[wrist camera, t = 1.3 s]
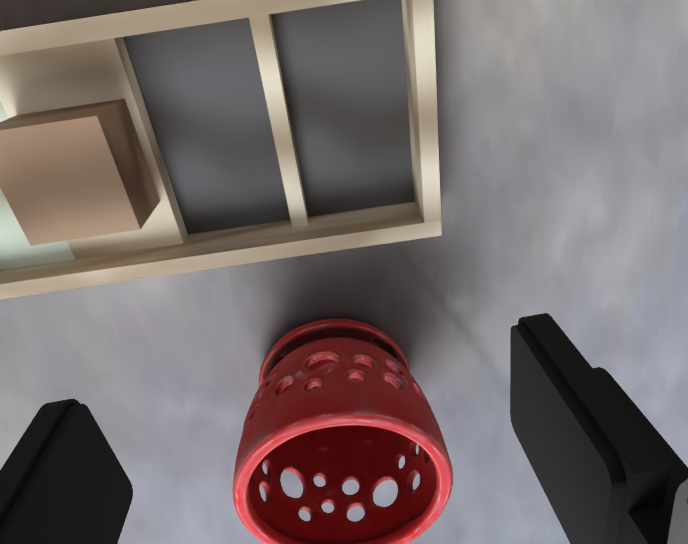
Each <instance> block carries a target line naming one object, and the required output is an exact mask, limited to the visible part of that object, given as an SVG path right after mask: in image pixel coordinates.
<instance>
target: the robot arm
mask: <svg viewBox="0 0 688 544" xmlns="http://www.w3.org/2000/svg"><path fill="white" fill-rule="evenodd" d="M510 415H511V422H512V426H513V429H514V431H515V434H516V436H517V438H518V440H519V442H520V444H521V446H522V448H523V450H524V452H525V454H526V456H527V458H528V460H529V462H530V464H531V466H532V468H533V470H534V472H535V474H536V476H537V478H538V480H539V482H540V484H541V486H542V488H543V490H544V492H545V494H546V496H547V498H548V500H549V502H550V504H551V506H552V508H553V510H554V512H555V514H556V516H557V518H558V520H559V522H560V524H561V526H562V528H563V530H564V532H565V534H566V536H567V538H568V540H569V542H570V544H688V467H687V466H686V465H685V464H684V463H683V461H682V460H681V459H680V458H679V457H678V455H677V454H676V453H675V452H674V451H673V449H672V448H671V447H670V446H669V445H668V443H667V442H666V441H665V440H664V439H663V437H662V436H661V435H660V434H659V433H658V431H657V430H656V429H655V428H654V427H653V425H652V424H651V423H650V422H649V421H648V419H647V418H646V417H645V416H644V415H643V413H642V412H641V411H640V410H639V409H638V407H637V406H636V405H635V404H634V403H633V401H632V400H631V399H630V398H629V397H628V395H627V394H626V393H625V392H624V391H623V389H622V388H621V387H620V386H619V385H618V383H617V382H616V381H615V380H614V379H613V377H612V376H611V375H610V374H609V373H608V372H607V371H606V370H605V369H603V368H600V367H598V368H592V367H591V366H590V365H589V363H588V362H587V361H586V360H585V358H584V357H583V356H582V355H581V353H580V352H579V351H578V350H577V348H576V347H575V346H574V345H573V343H572V342H571V341H570V340H569V338H568V337H567V336H566V335H565V333H564V332H563V331H562V330H561V328H560V327H559V326H558V325H557V323H556V322H555V321H554V320H553V318H552V317H551V316H550V315H549V314H547V313H544V314H538V315H533V316H527V317H522V318H520V319H519V321H518V325H515V326H512V327H511V385H510ZM132 496H133V489H132V485H131V482H130V480H129V479H128V477H127V475H126V473H125V472H124V470H123V468H122V466H121V465H120V463H119V461H118V459H117V458H116V456H115V454H114V452H113V451H112V449H111V447H110V445H109V444H108V442H107V440H106V438H105V437H104V435H103V433H102V431H101V430H100V428H99V426H98V424H97V423H96V421H95V419H94V417H93V416H92V414H91V412H90V410H89V409H88V407H87V406H86V405H85V404H80V403H79V402H78V401H77V400H75V399H68V400H62V401H57V402H51V403H46V404H44V405H43V406H42V407H41V408H40V409H39V411H38V413H37V414H36V416H35V417H34V419H33V420H32V422H31V423H30V425H29V427H28V428H27V430H26V431H25V433H24V434H23V436H22V437H21V439H20V441H19V442H18V444H17V445H16V447H15V448H14V450H13V452H12V453H11V455H10V456H9V458H8V459H7V461H6V462H5V464H4V466H3V467H2V469H1V470H0V544H117V543H118V540H119V537H120V534H121V531H122V528H123V525H124V522H125V519H126V516H127V513H128V510H129V507H130V504H131V501H132Z"/></svg>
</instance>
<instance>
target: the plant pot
mask: <svg viewBox="0 0 688 544" xmlns="http://www.w3.org/2000/svg"><path fill="white" fill-rule="evenodd" d="M417 444H418V446H419V452H418V455H417V454H416V445H417ZM403 455H404V457H405V465H404V466H403V468H401V469H399V460H400V458H401V457H402V456H403ZM263 462H264V463H265V465H266V468H267V475H266V474H265V473H264V472H263V469H262V465H263ZM284 470H287V471H291V472H293V473H294V474H296V475H297V476H298V477H299V479H300V480H301V482H302V484H303V493H302V495H301V497H300V498H292V497H289V496H287V495H286V494H285V493H284V491H283V489H282V486H281V482H280V477H281V473H282V472H283V471H284ZM418 473H419V474H420V484H419V486H418V487H417V488H416V489H415V490H413V481H414V478H415V476H416V475H417V474H418ZM316 476H321V477H323V478H324V479H325V482H326V484H325V486H323V487H317V486H316V485H315V484H314V481H313V479H314V477H316ZM350 479H353V480H356V481H357V482H358V483H359V486H360V487H359V490H358V492H357V493H356V494H353V495H346V494H345V493H344V492H343V491H342V485H343V484H344V482H346V481H348V480H350ZM385 480H394V481H395V482H396V483H397V486H398V494H397V498H396V500H395V501H394V502H393V503H392V504H391V505H390V506H388V507H380V506H377V505H376V504H375V503H374V502H373V492H374V490H375V488H376V487H377V486H378V485H379V484H380V483H381V482H383V481H385ZM259 485H261V486H262V487H263V489H264V491H265V495H266V501H263V499H262V497H261V494H260V491H259ZM452 485H453V470H452V465H451V461H450V458H449V455H448V452H447V448H446V445H445V442H444V439H443V436H442V433H441V431H440V428H439V425H438V423H437V420H436V418H435V416H434V414H433V412H432V410H431V407H430V405H429V403H428V401H427V399H426V397H425V396H424V394H423V392H422V390H421V388H420V387H419V385H418V384H417V382H416V381H415V379H414V378H413V377H412V375H411V374H410V369H409V364H408V361H407V359H406V357H405V355H404V353H403V351H402V350H401V348H400V347H399V345H398V344H397V343H396V342H395V341H394V340H393V339H392V338H391V337H390V336H388V335H387V334H386V333H384V332H383V331H381V330H379V329H378V328H376V327H374V326H372V325H369V324H366V323H363V322H360V321H356V320H350V319H338V318H337V319H324V320H317V321H313V322H310V323H307V324H304V325H302V326H299V327H297V328H295V329H293V330H292V331H290V332H288V333H287V334H286V335H284V336H283V337H282V338H281V339H279V340H278V341H277V342H276V343H275V344H274V346H273V347H272V348H271V349H270V351H269V352H268V354H267V355H266V357H265V359H264V361H263V364H262V366H261V370H260V375H259V389H258V391H257V393H256V394H255V397H254V399H253V401H252V403H251V406H250V408H249V411H248V413H247V416H246V419H245V422H244V427H243V433H242V437H241V441H240V444H239V449H238V453H237V458H236V464H235V472H234V480H233V500H234V506H235V509H236V512H237V514H238V516H239V518H240V519H241V521H242V523H243V524H244V525H245V527H246V528H247V529H248V530H249V531H250V532H251V533H252V534H253V535H254V536H255V537H256V538H257V539H259V540H260V541H261V542H263V543H264V544H407V543H409V542H410V541H412V540H414V539H415V538H417V537H418V536H420V535H421V534H422V533H423V532H424V531H426V530H427V529H428V528H429V527H430V526H431V525H432V524H433V523H434V522H435V521H436V520H437V518H438V517H439V516H440V514H441V513H442V511H443V510H444V508H445V506H446V504H447V502H448V500H449V497H450V494H451V490H452ZM326 502H329V503H331V504H333V505H334V511H333V512H331V513H326V512H324V511H323V510H322V508H321V505H322V504H323V503H326ZM354 506H360V507H362V508H363V509H364V511H365V515H364V517H363V518H362V519H361V520H360V521H357V522H353V521H350V520H349V519H348V518H347V512H348V510H349V509H350V508H352V507H354ZM301 509H303V510H306V511H307V512H308V513H309V514H310V517H311V519H310V521H304V520H302V519H301V518H300V517H299V514H298V512H299V510H301Z"/></svg>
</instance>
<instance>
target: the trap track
mask: <svg viewBox="0 0 688 544" xmlns="http://www.w3.org/2000/svg"><path fill="white" fill-rule="evenodd" d="M119 99H125V101H126V104H127V106H128V109H129V112H130V115H131V118H132V121H133V124H134V127H135V129H136V132H137V135H138V138H139V141H140V144H141V147H142V150H143V152H144V155H145V158H146V161H147V164H148V167H149V170H150V173H151V175H152V178H153V181H154V184H155V187H156V190H157V193H158V196H159V198H160V202H159V204H158V205H157V207H156V208H155V210H154V211H153V212H152V214H151V215H150V217H149V218H148V220H147V221H146V222H145V224H144V225H143V227H142V228H141V230H135V231H128V232H121V233H114V234H107V235H100V236H93V237H87V238H80V239H73V240H66V241H59V242H52V243H46V244H39V245H32V246H30V244H29V242H28V240H27V238H26V236H25V234H24V232H23V230H22V228H21V226H20V224H19V223H18V221H17V219H16V217H15V215H14V213H13V211H12V209H11V207H10V205H9V203H8V201H7V199H6V197H5V196H4V194H3V192H2V190H1V188H0V299H4V298H11V297H18V296H25V295H32V294H39V293H46V292H53V291H60V290H67V289H74V288H81V287H88V286H95V285H102V284H108V283H115V282H122V281H129V280H136V279H143V278H150V277H157V276H164V275H171V274H178V273H185V272H192V271H199V270H206V269H213V268H220V267H226V266H233V265H240V264H247V263H254V262H261V261H268V260H275V259H282V258H289V257H296V256H303V255H310V254H317V253H324V252H331V251H338V250H344V249H351V248H358V247H365V246H372V245H379V244H386V243H393V242H400V241H407V240H414V239H421V238H428V237H435V236H442V232H441V203H440V174H439V146H438V117H437V89H436V60H435V32H434V3H433V0H197V1H191V2H184V3H178V4H171V5H165V6H159V7H152V8H146V9H139V10H133V11H126V12H120V13H113V14H107V15H100V16H94V17H88V18H81V19H75V20H68V21H62V22H55V23H49V24H42V25H36V26H30V27H23V28H17V29H10V30H4V31H0V122H2V121H4V120H7V119H9V118H11V117H13V116H16V115H20V114H27V113H33V112H40V111H47V110H53V109H60V108H66V107H73V106H80V105H86V104H93V103H99V102H106V101H113V100H119Z"/></svg>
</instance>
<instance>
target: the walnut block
mask: <svg viewBox="0 0 688 544" xmlns="http://www.w3.org/2000/svg"><path fill="white" fill-rule="evenodd" d="M0 188H1V190H2V192H3V194H4V196H5V197H6V199H7V201H8V203H9V205H10V207H11V209H12V211H13V213H14V215H15V217H16V219H17V221H18V223H19V224H20V226H21V228H22V230H23V232H24V234H25V236H26V238H27V240H28V242H29V244H30V246H32V245H39V244H46V243H52V242H59V241H66V240H73V239H80V238H87V237H93V236H100V235H107V234H114V233H121V232H128V231H135V230H141V228H142V227H143V225H144V224H145V222H146V221H147V220H148V218H149V217H150V215H151V214H152V212H153V211H154V210H155V208H156V207H157V205H158V204H159V202H160V198H159V196H158V193H157V190H156V187H155V184H154V181H153V178H152V175H151V173H150V170H149V167H148V164H147V161H146V158H145V155H144V152H143V150H142V147H141V144H140V141H139V138H138V135H137V132H136V129H135V127H134V124H133V121H132V118H131V115H130V112H129V109H128V106H127V104H126V101H125V99H119V100H113V101H106V102H99V103H93V104H86V105H80V106H73V107H66V108H60V109H53V110H47V111H40V112H33V113H27V114H20V115H16V116H13V117H11V118H9V119H7V120H4V121H2V122H0Z"/></svg>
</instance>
